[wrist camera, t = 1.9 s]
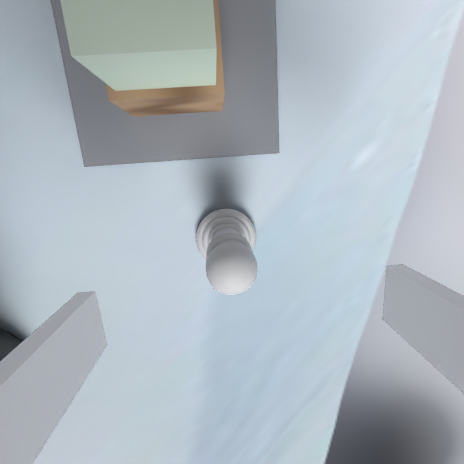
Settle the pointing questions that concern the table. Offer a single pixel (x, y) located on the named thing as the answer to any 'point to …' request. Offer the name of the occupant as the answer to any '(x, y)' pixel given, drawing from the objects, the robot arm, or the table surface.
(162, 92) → the block bottom
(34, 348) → the robot arm
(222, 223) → the chess piece
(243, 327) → the table surface
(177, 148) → the mat
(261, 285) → the table surface
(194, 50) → the block top
